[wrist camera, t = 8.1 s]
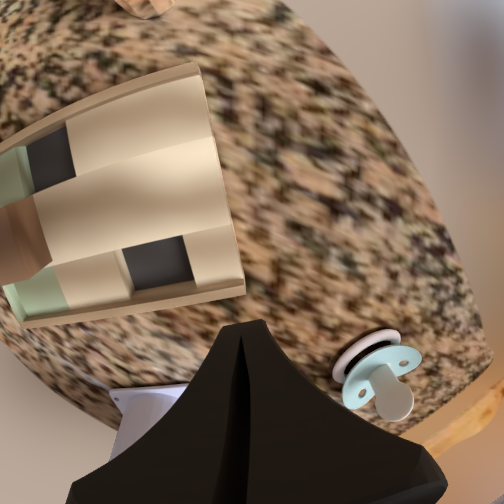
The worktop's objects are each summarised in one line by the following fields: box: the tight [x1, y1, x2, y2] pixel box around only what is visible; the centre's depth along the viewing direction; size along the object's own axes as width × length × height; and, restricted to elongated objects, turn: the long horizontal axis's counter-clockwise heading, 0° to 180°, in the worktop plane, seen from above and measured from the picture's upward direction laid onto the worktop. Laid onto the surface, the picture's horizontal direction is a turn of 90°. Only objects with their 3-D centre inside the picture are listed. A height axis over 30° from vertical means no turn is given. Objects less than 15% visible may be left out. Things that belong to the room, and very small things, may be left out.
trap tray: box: [0, 61, 246, 329], centre depth 16 cm, size 13×18×2 cm
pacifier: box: [333, 329, 422, 421], centre depth 20 cm, size 7×6×6 cm
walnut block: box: [0, 196, 53, 287], centre depth 15 cm, size 4×4×3 cm
